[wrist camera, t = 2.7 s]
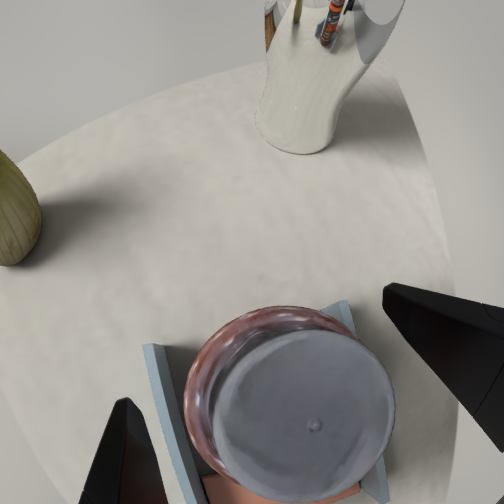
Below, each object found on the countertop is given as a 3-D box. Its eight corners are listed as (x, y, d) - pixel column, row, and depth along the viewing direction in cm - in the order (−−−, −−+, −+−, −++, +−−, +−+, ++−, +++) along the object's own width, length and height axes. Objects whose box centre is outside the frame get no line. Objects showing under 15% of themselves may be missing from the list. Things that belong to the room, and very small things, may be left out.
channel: (367, 484, 14) (390, 501, 11) (209, 529, 13) (208, 554, 10) (327, 308, 18) (347, 299, 15) (155, 346, 16) (142, 344, 13)
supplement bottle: (319, 340, 17) (451, 310, 6) (296, 439, 15) (397, 533, 4) (215, 317, 17) (205, 251, 6) (190, 418, 15) (142, 514, 4)
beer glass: (260, 84, 23) (290, -83, 9) (342, 108, 23) (410, -46, 9) (237, 144, 21) (261, -71, 7) (333, 172, 21) (435, -16, 7)
